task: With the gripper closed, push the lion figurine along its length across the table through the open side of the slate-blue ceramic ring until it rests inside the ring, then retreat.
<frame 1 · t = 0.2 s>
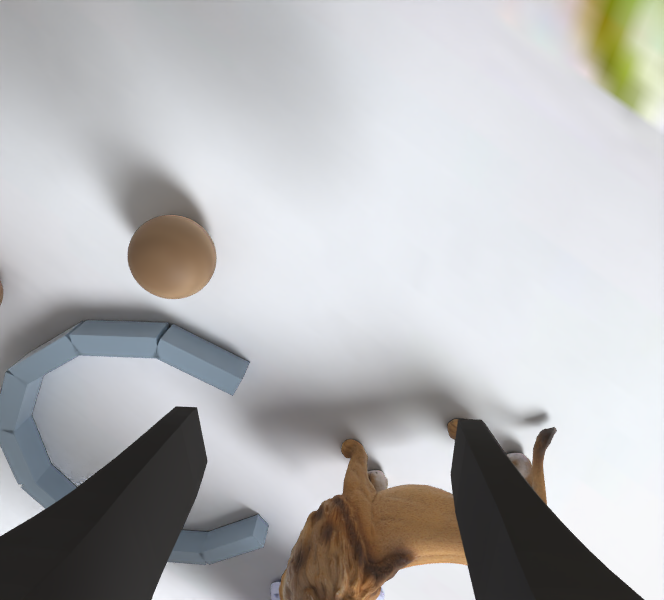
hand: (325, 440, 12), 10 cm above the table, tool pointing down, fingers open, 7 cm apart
lion figurine: (411, 457, 26), on the table
groove ring: (158, 447, 27), on the table
walnut bead b: (188, 243, 21), on the table
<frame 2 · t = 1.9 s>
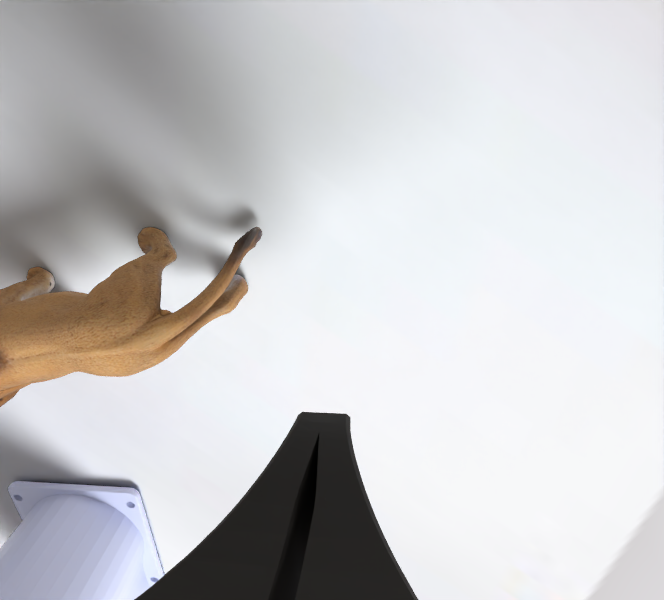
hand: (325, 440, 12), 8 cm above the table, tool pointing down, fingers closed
lion figurine: (121, 293, 21), on the table
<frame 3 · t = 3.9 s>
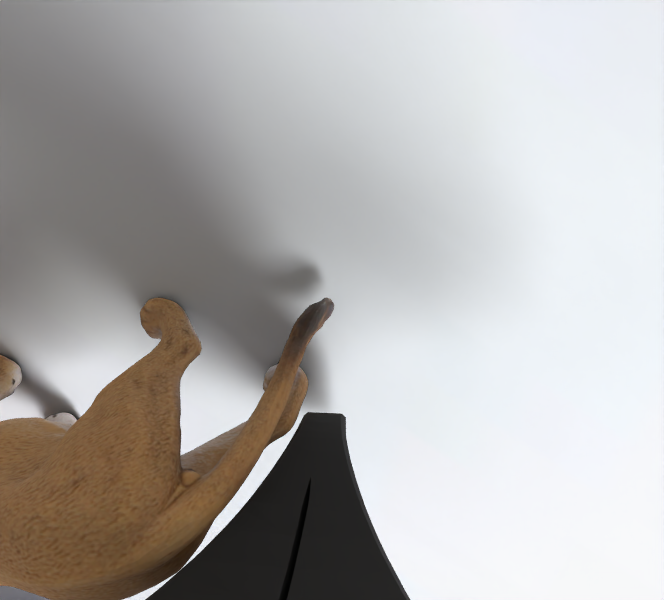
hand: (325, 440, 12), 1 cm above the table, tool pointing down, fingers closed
lion figurine: (119, 386, 14), on the table, touching gripper
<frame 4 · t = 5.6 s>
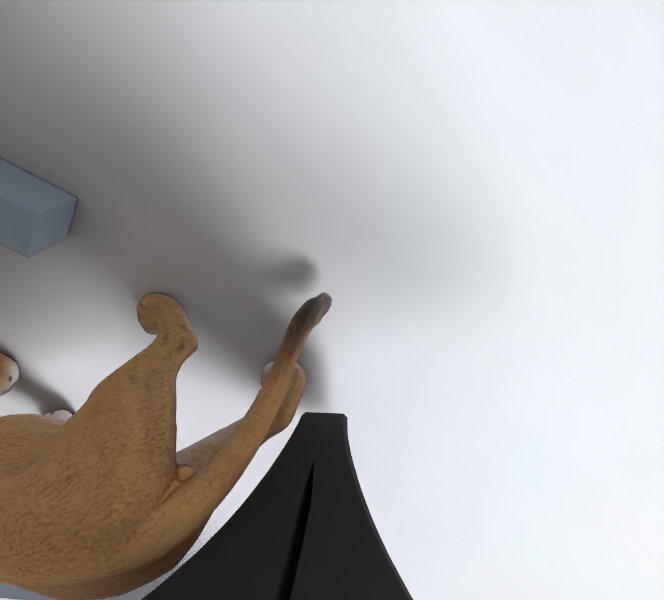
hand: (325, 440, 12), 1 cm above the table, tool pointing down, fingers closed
lion figurine: (117, 384, 14), on the table, touching gripper
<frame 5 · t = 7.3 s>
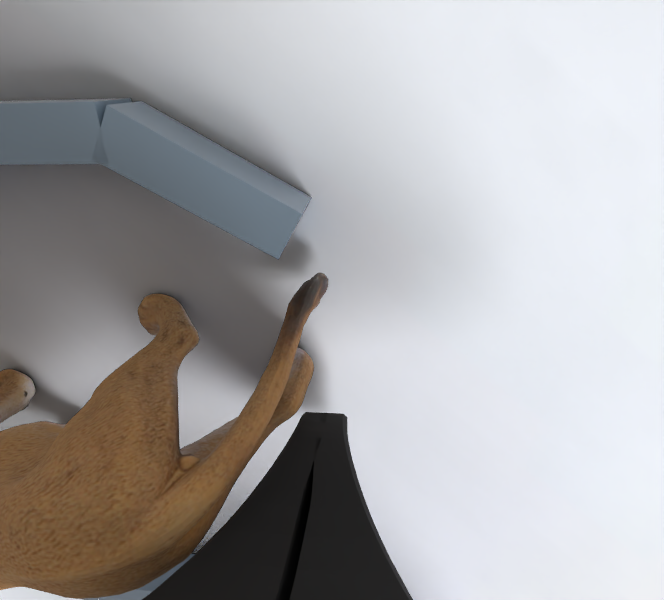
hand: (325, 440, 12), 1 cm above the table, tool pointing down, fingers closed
lion figurine: (130, 390, 14), on the table, touching gripper
groove ring: (125, 399, 14), on the table
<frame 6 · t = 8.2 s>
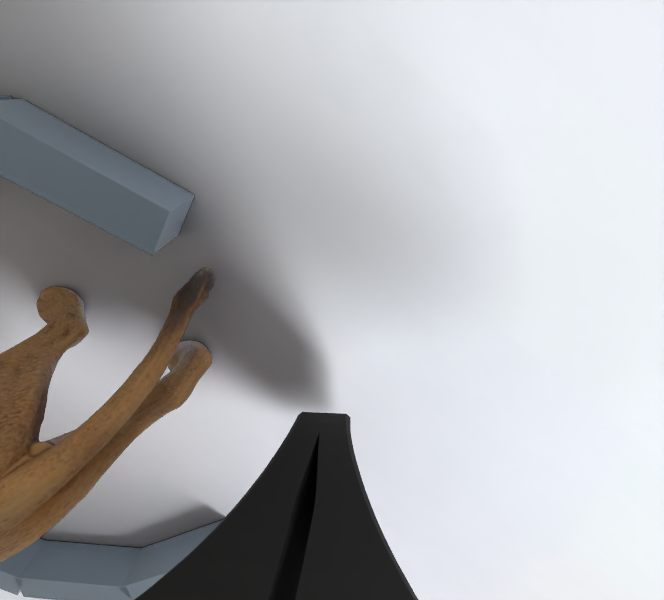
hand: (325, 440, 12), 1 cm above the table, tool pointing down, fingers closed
lion figurine: (42, 381, 15), on the table
groove ring: (35, 392, 15), on the table
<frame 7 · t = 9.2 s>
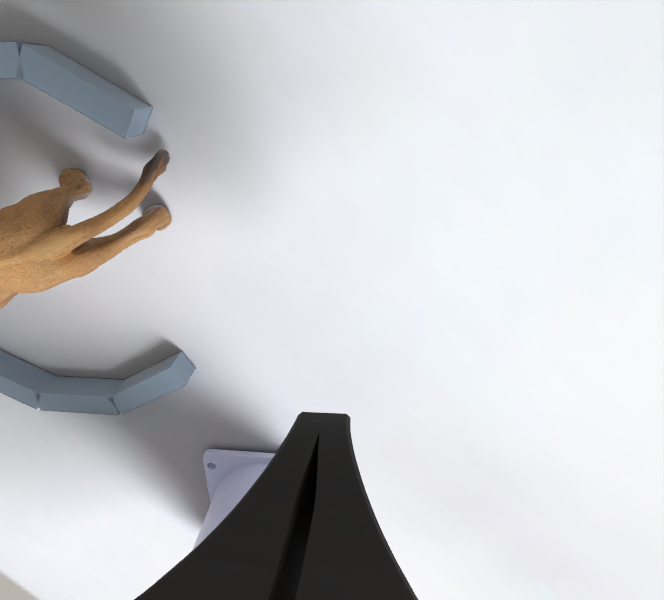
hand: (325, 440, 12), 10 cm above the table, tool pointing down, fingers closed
lion figurine: (61, 243, 22), on the table
groove ring: (51, 251, 22), on the table
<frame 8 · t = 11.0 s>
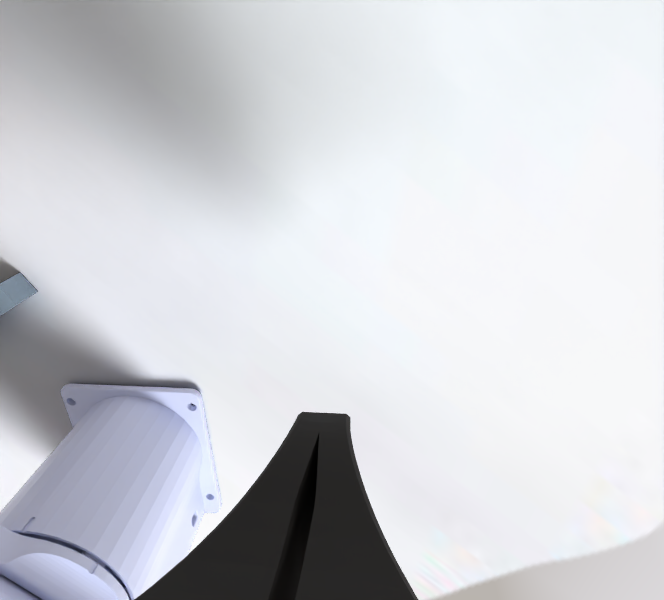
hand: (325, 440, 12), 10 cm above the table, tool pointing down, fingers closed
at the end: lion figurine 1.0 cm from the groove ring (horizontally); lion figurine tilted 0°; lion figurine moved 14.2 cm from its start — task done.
